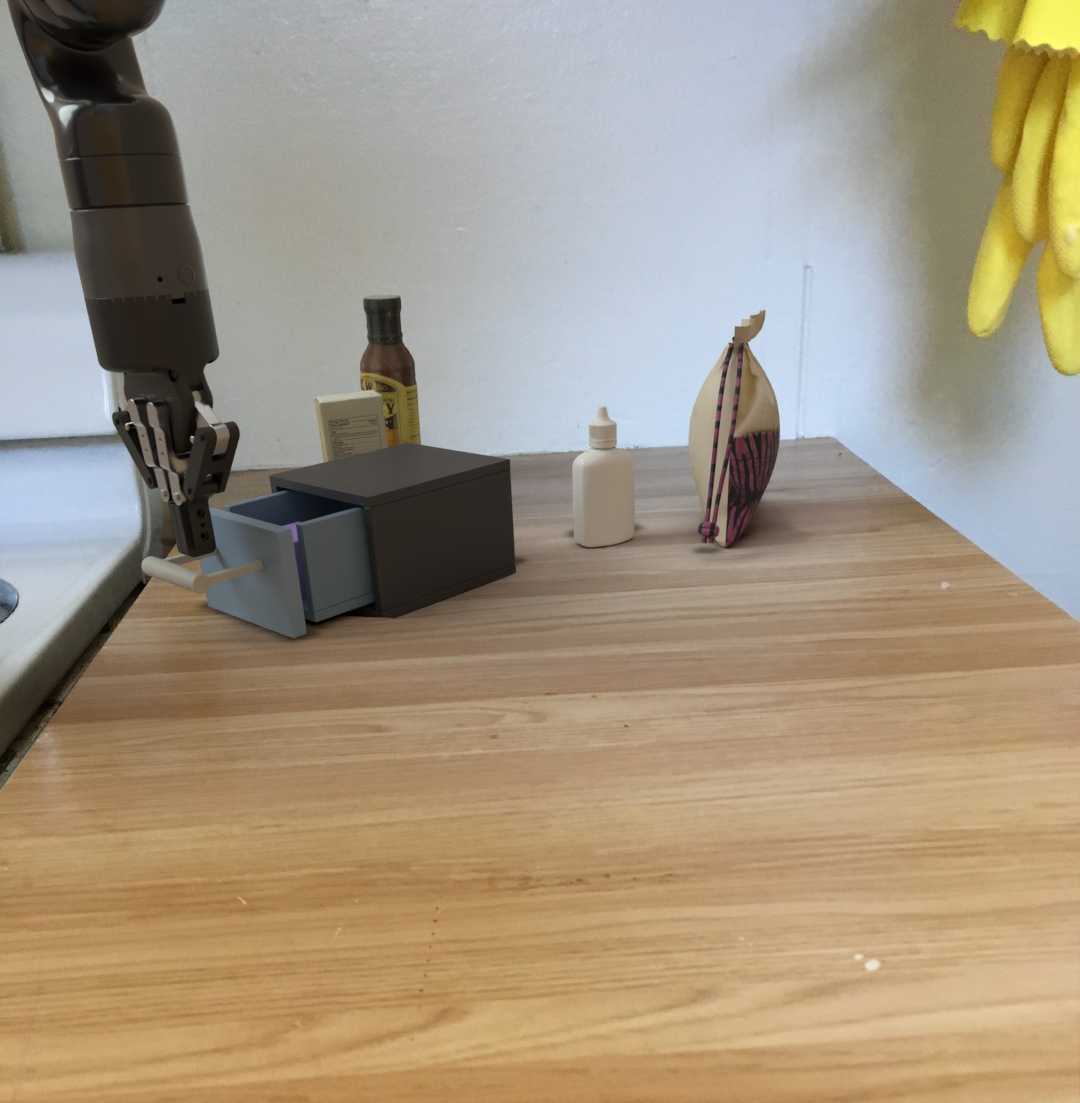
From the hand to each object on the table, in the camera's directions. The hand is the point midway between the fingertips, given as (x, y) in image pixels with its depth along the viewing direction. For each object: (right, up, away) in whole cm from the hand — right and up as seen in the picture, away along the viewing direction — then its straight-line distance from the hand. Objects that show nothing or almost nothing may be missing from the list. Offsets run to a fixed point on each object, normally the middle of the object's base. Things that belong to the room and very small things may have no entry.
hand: (198, 553), depth 74 cm
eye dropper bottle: (+30, +5, +23) cm, 38 cm away
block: (+4, 0, +5) cm, 6 cm away
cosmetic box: (+6, +9, +34) cm, 36 cm away
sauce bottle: (+7, +16, +48) cm, 51 cm away
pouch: (+42, +7, +27) cm, 50 cm away
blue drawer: (+5, -3, +7) cm, 9 cm away
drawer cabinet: (+12, 0, +15) cm, 19 cm away
